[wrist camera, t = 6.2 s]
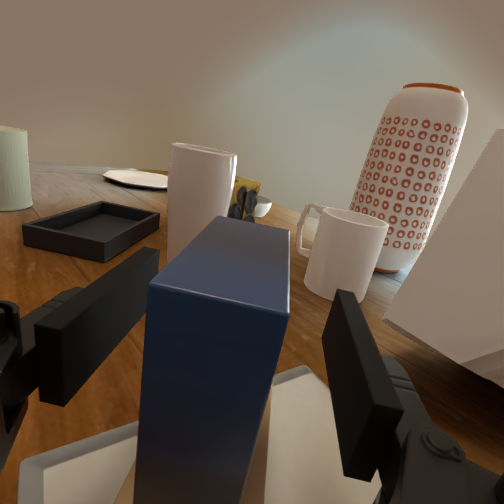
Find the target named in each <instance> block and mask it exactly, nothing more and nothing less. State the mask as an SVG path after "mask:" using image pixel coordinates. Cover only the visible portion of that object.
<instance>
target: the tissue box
mask: <svg viewBox="0 0 504 504" xmlns="http://www.w3.org/2000/svg"><path fill="white" fill-rule="evenodd" d="M383 316H384V317H383V318H382V321H383V322H385V323H386V324H388V326H390V327H391V328H393V329H394V330H396V331H397V332H398V333H400V334H401V335H403V336H405V337H407V338H409V339H411V340H413V341H414V342H416V343H418V344H419V345H421V346H423V347H425V348H426V349H428V350H430V351H432V352H435V353H437V354H439V355H442V356H447V357H448V358H450V359H451V360H453V361H455V362H456V363H458V364H459V365H461V366H463V367H465V368H467V369H469V370H471V371H472V372H474V373H476V374H477V375H479V376H481V377H483V378H485V379H489V380H491V381H493V382H494V383H496V384H498V385H499V386H501V387H502V388H504V130H502V129H496V131H495V133H494V134H493V136H492V138H491V139H490V141H489V142H488V144H487V146H486V147H485V149H484V151H483V152H482V154H481V156H480V157H479V159H478V161H477V162H476V164H475V166H474V167H473V169H472V171H471V172H470V174H469V176H468V177H467V179H466V180H465V182H464V184H463V185H462V187H461V189H460V190H459V192H458V194H457V195H456V197H455V198H454V200H453V202H452V203H451V205H450V207H449V208H448V210H447V212H446V213H445V215H444V217H443V218H442V220H441V222H440V223H439V225H438V226H437V228H436V230H435V231H434V233H433V235H432V237H431V238H430V240H429V241H428V243H427V245H426V246H425V248H424V250H423V251H422V253H421V254H420V256H419V258H418V259H417V261H416V263H415V264H414V266H413V268H412V269H411V271H410V273H409V274H408V276H407V278H406V279H405V281H404V282H403V284H402V286H401V287H400V289H399V291H398V292H397V294H396V296H395V297H394V299H393V301H392V302H391V304H390V306H389V307H388V309H387V310H386V312H385V314H384V315H383Z"/></svg>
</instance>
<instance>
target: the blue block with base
mask: <svg viewBox="0 0 504 504" xmlns="http://www.w3.org/2000/svg"><path fill="white" fill-rule="evenodd" d="M289 316H290V231H289V230H286V229H281V228H276V227H271V226H266V225H262V224H257V223H252V222H247V221H243V220H238V219H233V218H228V217H224V216H216V217H215V218H214V219H213V220H212V221H211V222H210V223H209V224H208V225H207V226H206V227H205V228H204V229H203V230H202V231H201V232H200V233H199V234H198V235H197V236H196V237H195V238H194V239H193V240H192V241H191V242H190V243H189V244H188V245H187V246H186V247H185V248H184V249H183V250H182V251H181V252H179V253H178V254H177V255H176V256H175V257H174V258H173V259H172V260H171V261H170V262H169V263H168V264H167V265H166V266H165V267H164V268H163V269H162V270H161V271H160V272H159V273H158V274H157V275H156V276H155V277H154V278H153V279H152V280H151V281H150V282H149V284H148V294H147V309H146V323H145V337H144V351H143V365H142V379H141V393H140V408H139V422H138V436H137V450H136V459H135V461H134V463H133V465H132V467H131V469H130V471H129V473H128V475H127V477H126V479H125V481H124V483H123V485H122V487H121V489H120V491H119V493H118V495H117V497H116V499H115V501H114V503H113V504H264V497H265V483H266V470H267V456H268V442H269V428H270V415H271V401H272V387H273V377H274V374H275V370H276V366H277V362H278V358H279V354H280V351H281V347H282V343H283V339H284V335H285V332H286V328H287V324H288V320H289Z"/></svg>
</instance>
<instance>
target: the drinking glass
mask: <svg viewBox="0 0 504 504" xmlns="http://www.w3.org/2000/svg"><path fill="white" fill-rule="evenodd" d="M236 165H237V154H235V153H232V152H228V151H224V150H220V149H215V148H210V147H204V146H198V145H192V144H186V143H176V142H174V143H172V144H171V150H170V158H169V167H168V179H167V264H168V263H169V262H170V261H171V260H172V259H173V258H174V257H175V256H176V255H177V254H178V253H179V252H181V251H182V250H183V249H184V248H185V247H186V246H187V245H188V244H189V243H190V242H191V241H192V240H193V239H194V238H195V237H196V236H197V235H198V234H199V233H200V232H201V231H202V230H203V229H204V228H205V227H206V226H207V225H208V224H209V223H210V222H211V221H212V220H213V219H214V218H215V217H216V216H224V217H227V214H228V210H229V206H230V202H231V197H232V192H233V187H234V181H235V174H236Z"/></svg>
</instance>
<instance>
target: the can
mask: <svg viewBox="0 0 504 504" xmlns="http://www.w3.org/2000/svg"><path fill="white" fill-rule="evenodd" d="M27 143H28V142H27V131H26V130H23V129H19V128H15V127H9V126H3V125H0V211H16V210H22V209H26V208H29V207H31V206H32V205H33V201H32V197H31V187H30V174H29V160H28V145H27Z"/></svg>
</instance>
